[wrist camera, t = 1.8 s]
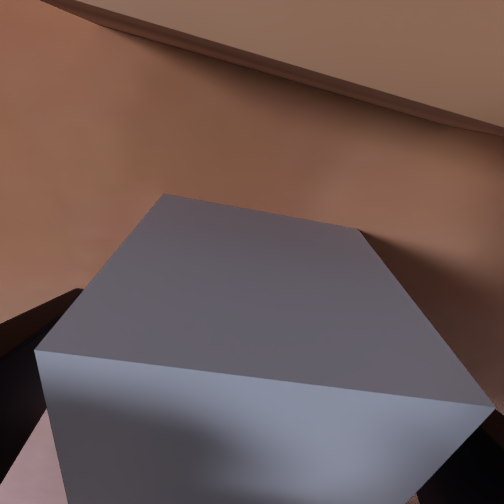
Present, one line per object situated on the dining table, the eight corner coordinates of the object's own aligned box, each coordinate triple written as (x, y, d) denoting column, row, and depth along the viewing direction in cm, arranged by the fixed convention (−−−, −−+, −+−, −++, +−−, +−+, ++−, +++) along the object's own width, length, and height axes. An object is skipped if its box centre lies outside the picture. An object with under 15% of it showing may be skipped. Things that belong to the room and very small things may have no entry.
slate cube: (304, 359, 12) (346, 566, 7) (156, 339, 12) (77, 549, 6) (356, 227, 9) (495, 407, 4) (164, 192, 9) (34, 350, 3)
